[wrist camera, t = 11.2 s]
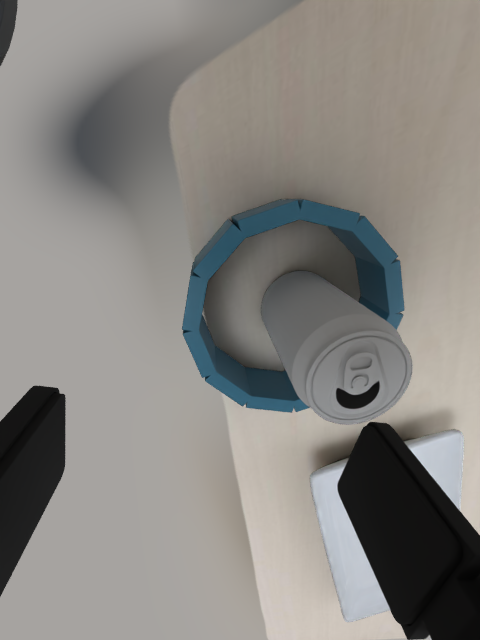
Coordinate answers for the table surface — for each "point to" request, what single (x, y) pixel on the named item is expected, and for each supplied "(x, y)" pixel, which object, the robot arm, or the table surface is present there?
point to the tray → (340, 537)
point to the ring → (352, 230)
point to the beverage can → (335, 349)
